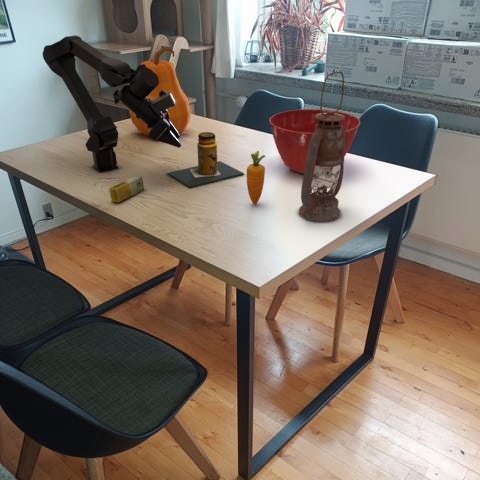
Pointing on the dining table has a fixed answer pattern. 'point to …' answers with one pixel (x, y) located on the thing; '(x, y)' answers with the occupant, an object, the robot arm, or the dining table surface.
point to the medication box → (126, 189)
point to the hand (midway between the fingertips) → (179, 141)
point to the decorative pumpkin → (167, 82)
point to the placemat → (191, 181)
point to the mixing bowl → (303, 134)
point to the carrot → (255, 178)
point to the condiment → (206, 156)
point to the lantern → (324, 166)
